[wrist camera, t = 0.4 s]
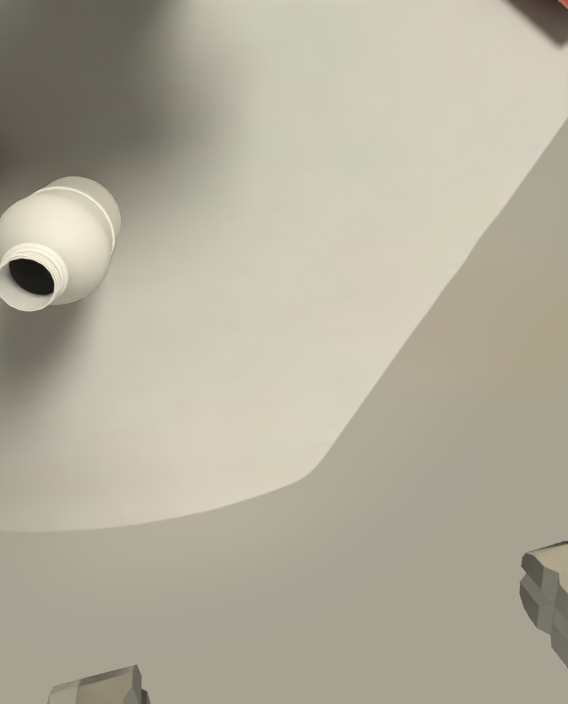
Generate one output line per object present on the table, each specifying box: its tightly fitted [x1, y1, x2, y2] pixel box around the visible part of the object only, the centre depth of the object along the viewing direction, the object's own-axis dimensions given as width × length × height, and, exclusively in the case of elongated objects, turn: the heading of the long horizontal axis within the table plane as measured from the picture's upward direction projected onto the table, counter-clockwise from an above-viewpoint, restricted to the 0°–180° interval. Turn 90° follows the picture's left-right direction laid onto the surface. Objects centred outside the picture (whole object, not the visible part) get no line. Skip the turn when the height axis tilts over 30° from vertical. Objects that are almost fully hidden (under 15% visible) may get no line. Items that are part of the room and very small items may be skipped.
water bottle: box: [0, 176, 121, 312], centre depth 39 cm, size 7×7×25 cm
